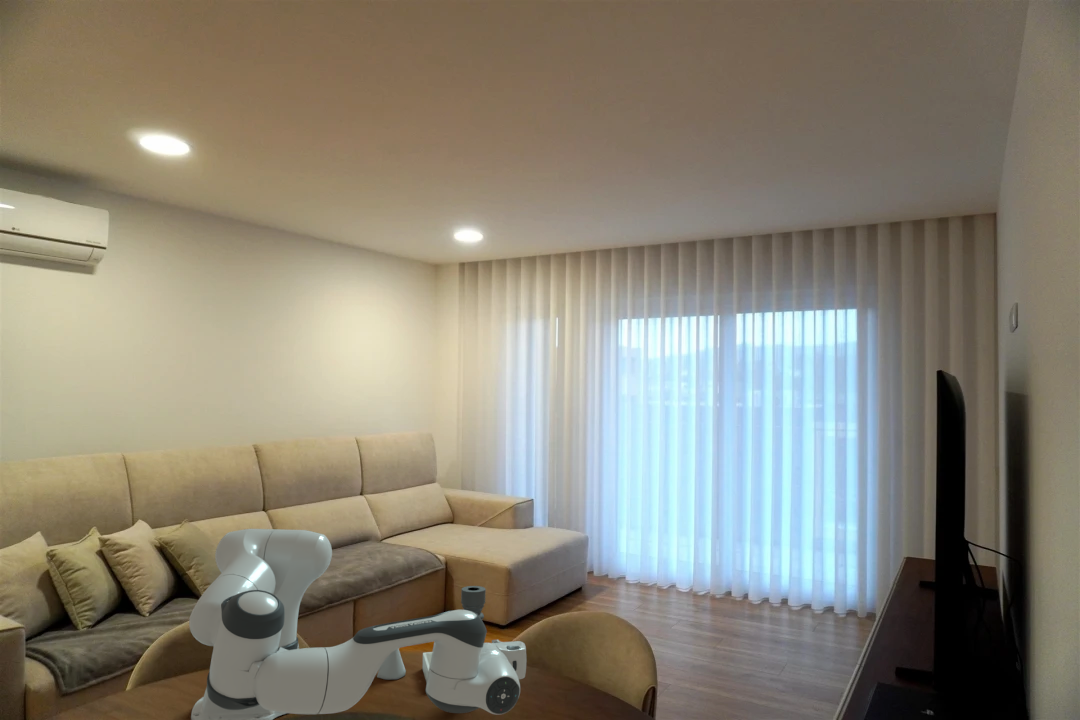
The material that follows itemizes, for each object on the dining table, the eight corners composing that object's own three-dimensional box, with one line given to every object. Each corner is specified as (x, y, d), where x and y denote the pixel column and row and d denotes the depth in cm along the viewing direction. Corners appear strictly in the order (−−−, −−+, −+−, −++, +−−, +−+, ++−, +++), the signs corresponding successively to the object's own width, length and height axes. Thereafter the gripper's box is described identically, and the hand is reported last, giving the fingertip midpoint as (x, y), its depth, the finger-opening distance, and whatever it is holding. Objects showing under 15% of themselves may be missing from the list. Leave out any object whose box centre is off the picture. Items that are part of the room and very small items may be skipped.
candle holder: (454, 694, 165) (457, 586, 166) (479, 691, 167) (481, 584, 169) (461, 705, 159) (464, 593, 161) (487, 701, 161) (490, 591, 163)
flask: (399, 682, 172) (400, 640, 172) (371, 679, 173) (373, 637, 174) (410, 671, 179) (411, 631, 179) (384, 668, 180) (385, 628, 181)
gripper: (437, 685, 146) (429, 662, 159) (532, 677, 151) (516, 655, 165) (438, 654, 146) (430, 633, 159) (532, 647, 152) (517, 627, 165)
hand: (475, 644), depth 162 cm, fingers open, 8 cm apart
